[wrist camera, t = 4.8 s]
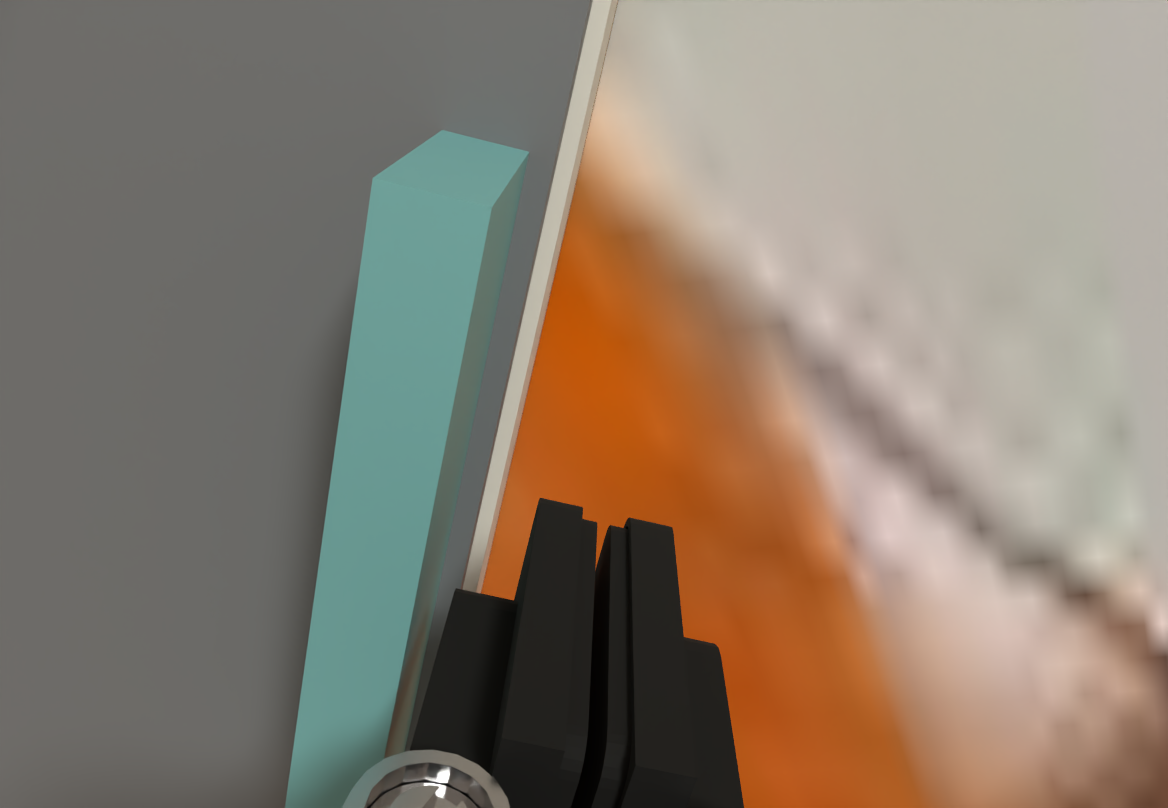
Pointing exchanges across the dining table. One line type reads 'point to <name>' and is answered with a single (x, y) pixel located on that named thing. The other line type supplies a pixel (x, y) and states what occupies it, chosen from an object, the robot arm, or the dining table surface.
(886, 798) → the dining table surface
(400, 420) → the lid
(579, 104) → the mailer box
